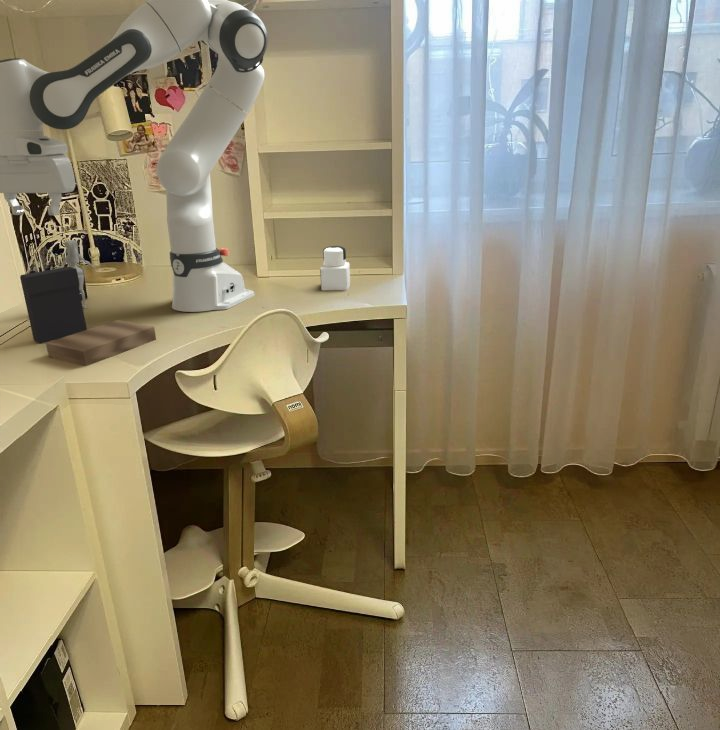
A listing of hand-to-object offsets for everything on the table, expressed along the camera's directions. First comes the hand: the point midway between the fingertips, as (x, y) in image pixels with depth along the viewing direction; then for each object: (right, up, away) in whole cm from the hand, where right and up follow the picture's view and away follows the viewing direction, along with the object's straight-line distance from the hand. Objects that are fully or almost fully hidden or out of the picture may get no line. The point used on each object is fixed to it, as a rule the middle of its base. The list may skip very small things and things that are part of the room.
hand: (36, 214), depth 140 cm
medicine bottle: (+62, -12, +40) cm, 75 cm away
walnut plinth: (+14, -28, +1) cm, 31 cm away
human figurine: (-3, -18, +30) cm, 35 cm away
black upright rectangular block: (+1, -26, +10) cm, 27 cm away
